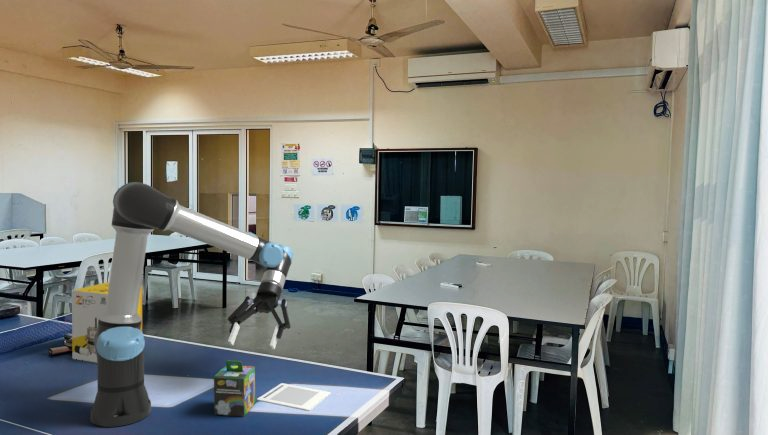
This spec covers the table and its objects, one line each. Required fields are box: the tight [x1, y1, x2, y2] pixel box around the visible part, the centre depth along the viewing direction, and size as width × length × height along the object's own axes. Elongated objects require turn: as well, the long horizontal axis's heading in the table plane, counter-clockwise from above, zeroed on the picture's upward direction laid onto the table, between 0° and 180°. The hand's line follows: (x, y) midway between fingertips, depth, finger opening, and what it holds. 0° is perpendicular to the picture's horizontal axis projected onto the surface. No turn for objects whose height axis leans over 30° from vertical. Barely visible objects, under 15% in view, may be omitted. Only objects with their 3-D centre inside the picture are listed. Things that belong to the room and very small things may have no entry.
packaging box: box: [71, 281, 143, 364], centre depth 196 cm, size 16×16×25 cm
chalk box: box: [213, 359, 256, 418], centre depth 154 cm, size 9×9×15 cm
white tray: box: [256, 382, 332, 412], centre depth 165 cm, size 14×18×1 cm
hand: (251, 345), depth 163 cm, fingers open, 13 cm apart
